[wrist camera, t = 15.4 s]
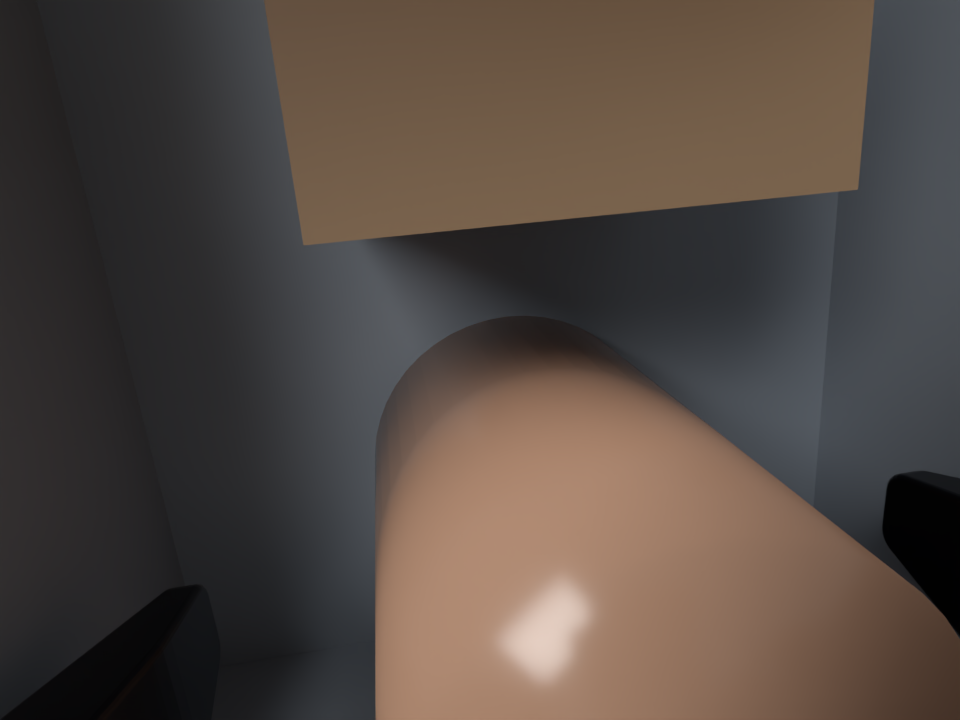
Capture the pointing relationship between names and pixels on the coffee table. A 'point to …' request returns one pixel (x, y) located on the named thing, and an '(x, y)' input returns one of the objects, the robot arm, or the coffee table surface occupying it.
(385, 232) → the walnut cube
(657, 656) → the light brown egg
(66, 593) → the box
